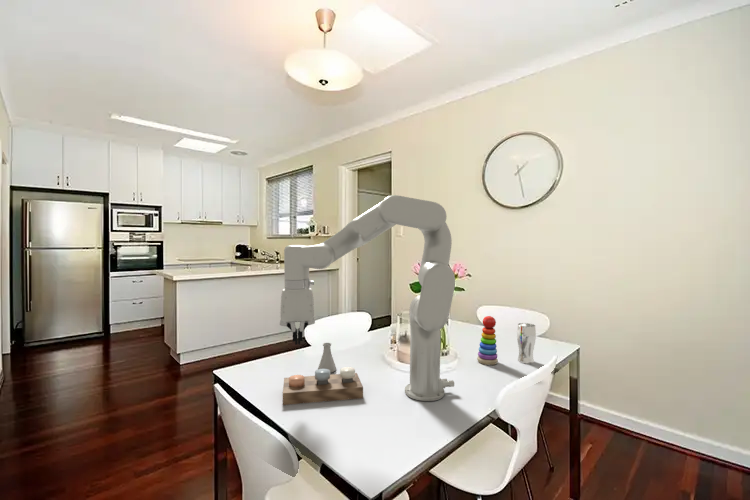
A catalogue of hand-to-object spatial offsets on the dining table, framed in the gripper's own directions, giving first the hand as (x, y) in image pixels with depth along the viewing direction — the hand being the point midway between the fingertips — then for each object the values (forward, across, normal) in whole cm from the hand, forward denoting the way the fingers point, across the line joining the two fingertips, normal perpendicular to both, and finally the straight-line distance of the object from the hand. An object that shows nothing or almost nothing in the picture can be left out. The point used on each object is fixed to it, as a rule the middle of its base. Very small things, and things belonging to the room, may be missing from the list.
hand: (297, 343), depth 112 cm
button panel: (+16, -8, 0) cm, 18 cm away
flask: (+17, -10, -20) cm, 28 cm away
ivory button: (+15, -16, 0) cm, 22 cm away
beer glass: (+18, -90, -15) cm, 93 cm away
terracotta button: (+16, 0, 0) cm, 16 cm away
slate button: (+15, -8, 0) cm, 17 cm away
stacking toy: (+18, -74, -17) cm, 78 cm away
